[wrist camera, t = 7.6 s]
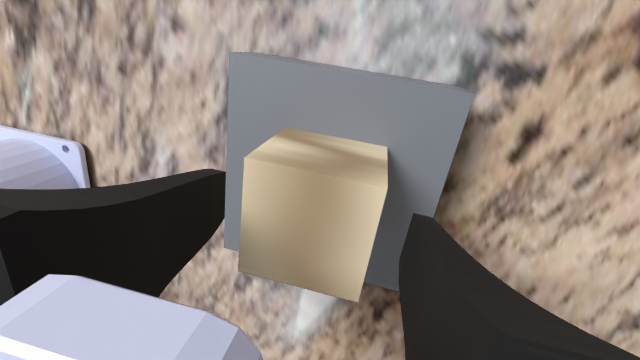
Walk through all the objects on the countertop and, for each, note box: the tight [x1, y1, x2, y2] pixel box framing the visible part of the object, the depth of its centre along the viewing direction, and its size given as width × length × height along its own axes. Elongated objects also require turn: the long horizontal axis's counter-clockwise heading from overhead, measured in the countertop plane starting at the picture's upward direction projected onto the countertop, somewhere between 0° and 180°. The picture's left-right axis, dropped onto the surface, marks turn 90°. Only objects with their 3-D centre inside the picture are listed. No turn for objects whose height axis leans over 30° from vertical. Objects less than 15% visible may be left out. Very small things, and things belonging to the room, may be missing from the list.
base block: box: [224, 52, 475, 292], centre depth 16 cm, size 10×10×3 cm
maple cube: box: [238, 127, 388, 302], centre depth 12 cm, size 4×4×4 cm
